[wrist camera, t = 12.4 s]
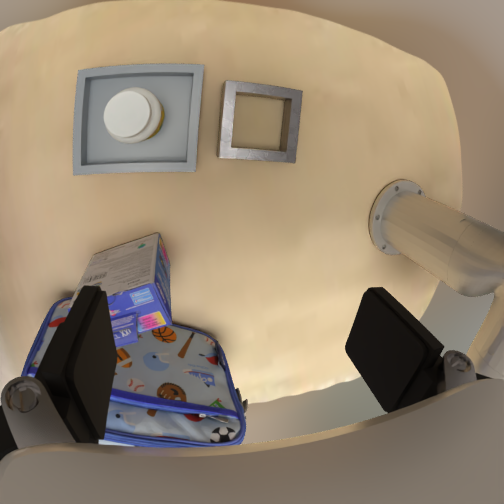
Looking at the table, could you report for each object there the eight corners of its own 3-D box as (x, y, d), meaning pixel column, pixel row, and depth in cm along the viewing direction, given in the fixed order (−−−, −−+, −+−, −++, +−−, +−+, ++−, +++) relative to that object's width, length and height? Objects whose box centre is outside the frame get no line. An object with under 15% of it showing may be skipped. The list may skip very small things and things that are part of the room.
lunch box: (236, 327, 44) (280, 452, 24) (214, 372, 47) (242, 487, 27) (58, 280, 34) (-3, 402, 14) (56, 334, 37) (18, 450, 17)
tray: (202, 70, 28) (204, 64, 25) (194, 168, 33) (195, 171, 30) (86, 74, 25) (78, 70, 22) (81, 171, 29) (73, 175, 27)
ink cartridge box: (108, 289, 36) (85, 364, 23) (91, 254, 34) (55, 321, 21) (173, 269, 37) (175, 342, 24) (159, 231, 35) (150, 292, 22)
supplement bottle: (150, 86, 27) (138, 69, 18) (174, 123, 29) (171, 120, 21) (110, 114, 27) (84, 109, 18) (134, 150, 29) (117, 158, 21)
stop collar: (294, 92, 32) (302, 90, 29) (287, 160, 35) (295, 163, 33) (222, 83, 29) (225, 80, 27) (216, 156, 33) (219, 158, 31)
